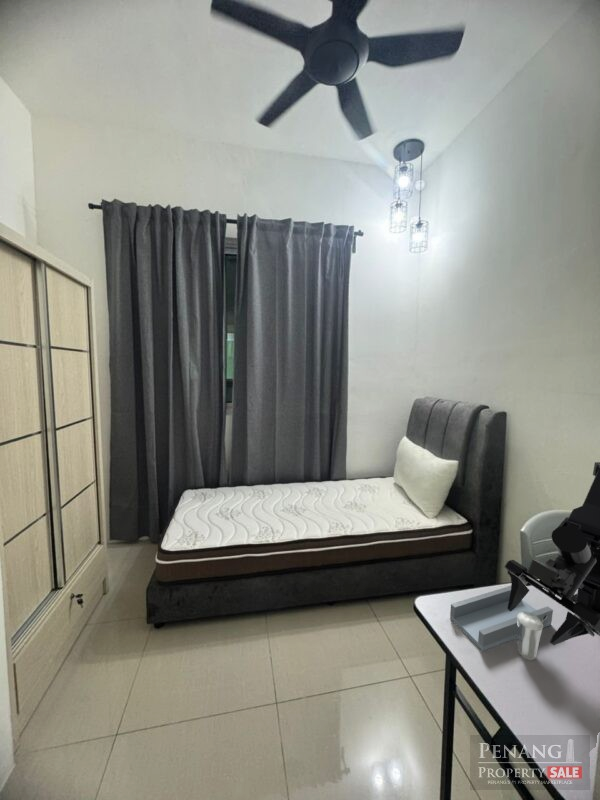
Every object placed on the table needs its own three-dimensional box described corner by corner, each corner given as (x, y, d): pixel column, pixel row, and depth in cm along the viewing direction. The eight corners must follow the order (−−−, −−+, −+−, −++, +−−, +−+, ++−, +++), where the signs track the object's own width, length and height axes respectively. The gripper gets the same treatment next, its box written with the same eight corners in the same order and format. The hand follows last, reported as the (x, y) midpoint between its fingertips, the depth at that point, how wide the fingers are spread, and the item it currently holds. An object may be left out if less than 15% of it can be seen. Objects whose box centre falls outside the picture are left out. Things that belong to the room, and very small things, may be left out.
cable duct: (514, 597, 87) (515, 584, 86) (551, 624, 78) (552, 609, 77) (450, 618, 80) (451, 603, 79) (482, 650, 71) (483, 634, 70)
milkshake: (547, 666, 67) (553, 623, 66) (519, 661, 68) (524, 619, 67) (536, 647, 72) (541, 606, 70) (510, 642, 73) (514, 603, 71)
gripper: (513, 527, 77) (474, 579, 75) (607, 577, 60) (560, 646, 57) (533, 551, 81) (496, 601, 79) (628, 605, 63) (584, 671, 61)
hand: (528, 625), depth 69 cm, fingers open, 9 cm apart
